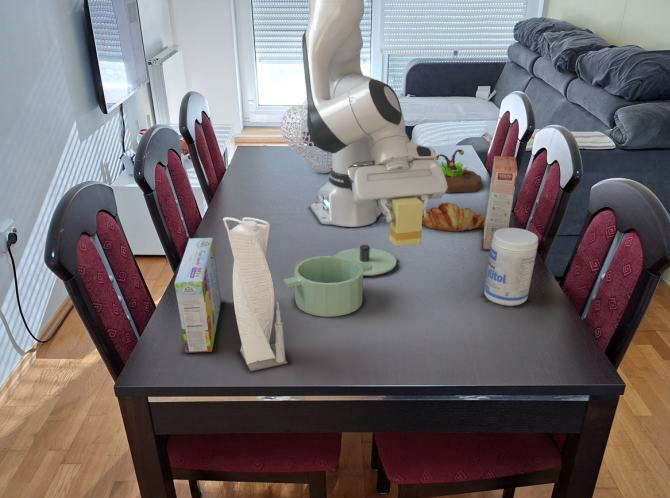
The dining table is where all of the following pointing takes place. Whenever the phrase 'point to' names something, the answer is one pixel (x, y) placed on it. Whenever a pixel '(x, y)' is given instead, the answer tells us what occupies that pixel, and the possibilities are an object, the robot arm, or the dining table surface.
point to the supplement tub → (510, 266)
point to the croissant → (453, 218)
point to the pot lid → (371, 258)
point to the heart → (293, 144)
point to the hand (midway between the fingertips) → (407, 219)
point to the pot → (328, 285)
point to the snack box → (198, 295)
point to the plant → (459, 176)
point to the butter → (406, 221)
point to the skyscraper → (254, 295)
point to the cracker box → (500, 197)
